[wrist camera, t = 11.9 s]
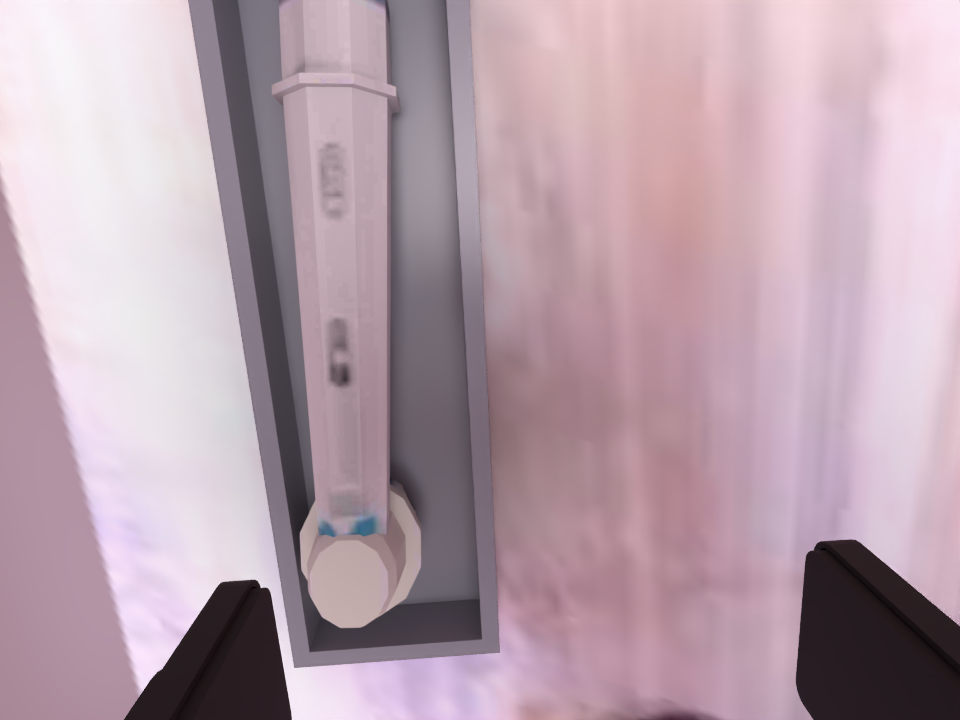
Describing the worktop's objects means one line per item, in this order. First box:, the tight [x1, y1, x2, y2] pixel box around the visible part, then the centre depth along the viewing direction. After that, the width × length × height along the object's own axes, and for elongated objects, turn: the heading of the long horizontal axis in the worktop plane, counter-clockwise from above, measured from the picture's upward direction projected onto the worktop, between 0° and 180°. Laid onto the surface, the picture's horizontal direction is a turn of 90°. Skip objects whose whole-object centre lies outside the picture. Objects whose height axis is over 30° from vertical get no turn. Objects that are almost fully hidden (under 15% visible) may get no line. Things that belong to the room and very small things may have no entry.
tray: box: [188, 0, 500, 668], centre depth 25 cm, size 30×10×4 cm, turn 3°
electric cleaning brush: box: [272, 0, 422, 628], centre depth 24 cm, size 5×7×25 cm
